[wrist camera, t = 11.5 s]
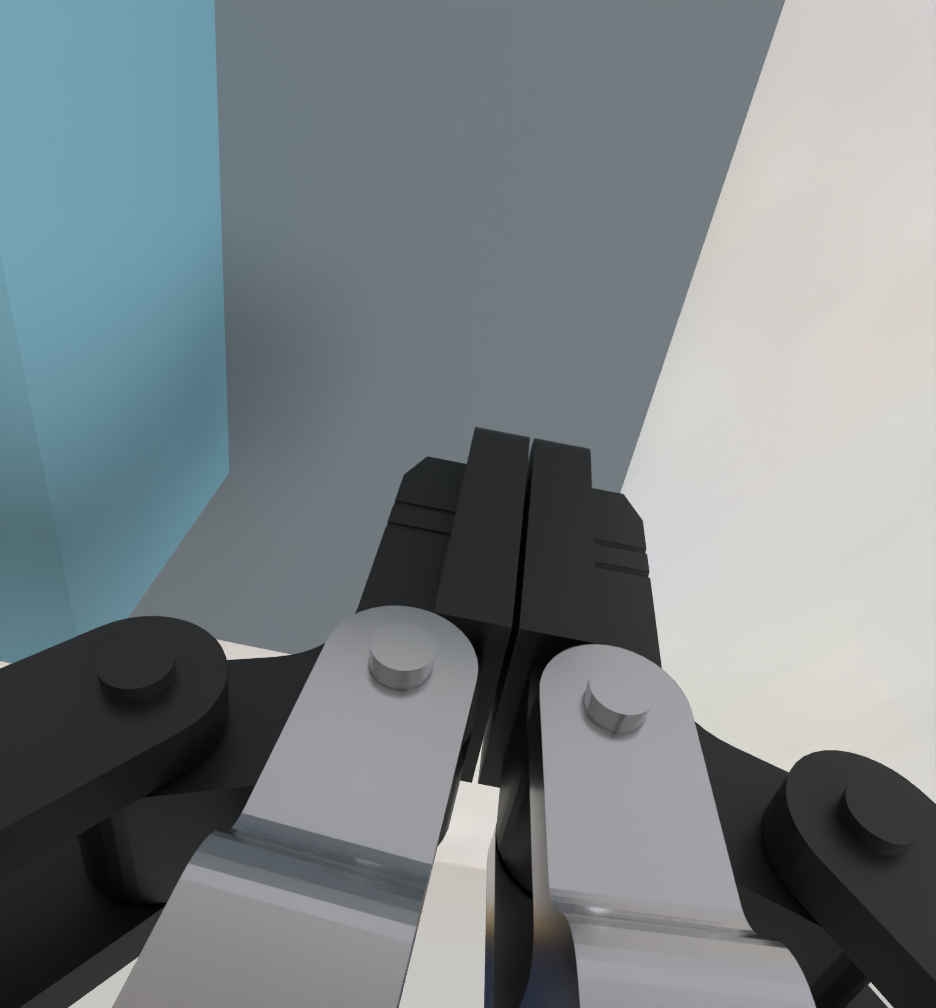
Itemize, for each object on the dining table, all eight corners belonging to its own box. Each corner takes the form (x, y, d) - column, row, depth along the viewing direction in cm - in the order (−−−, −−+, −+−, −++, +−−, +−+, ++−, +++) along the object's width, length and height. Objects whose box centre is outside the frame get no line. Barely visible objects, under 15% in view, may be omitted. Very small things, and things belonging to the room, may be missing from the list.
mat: (-621, -771, 9) (-666, -798, 8) (934, -474, 9) (948, -492, 8) (-117, 560, 20) (-128, 570, 20) (549, 693, 20) (548, 705, 20)
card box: (105, -40, 12) (-238, -46, 7) (213, -18, 12) (-54, -11, 7) (155, 457, 17) (-20, 656, 12) (229, 472, 17) (85, 678, 12)
